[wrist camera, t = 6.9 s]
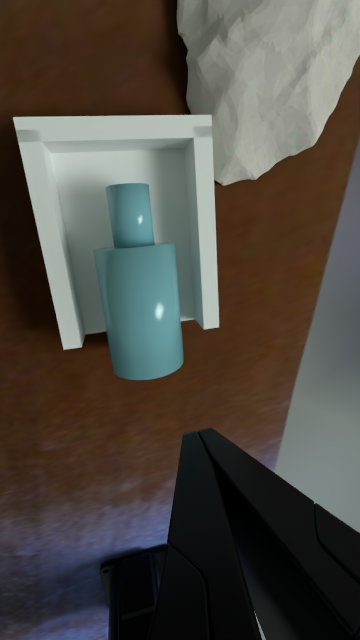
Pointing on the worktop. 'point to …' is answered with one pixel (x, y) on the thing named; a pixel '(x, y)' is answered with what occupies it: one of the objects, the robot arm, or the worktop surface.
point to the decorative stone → (266, 75)
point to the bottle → (139, 289)
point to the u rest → (93, 213)
